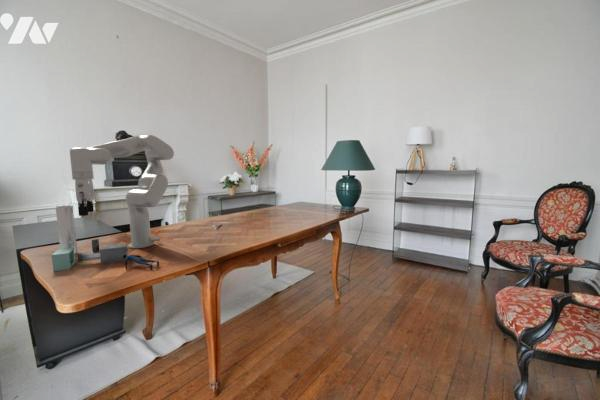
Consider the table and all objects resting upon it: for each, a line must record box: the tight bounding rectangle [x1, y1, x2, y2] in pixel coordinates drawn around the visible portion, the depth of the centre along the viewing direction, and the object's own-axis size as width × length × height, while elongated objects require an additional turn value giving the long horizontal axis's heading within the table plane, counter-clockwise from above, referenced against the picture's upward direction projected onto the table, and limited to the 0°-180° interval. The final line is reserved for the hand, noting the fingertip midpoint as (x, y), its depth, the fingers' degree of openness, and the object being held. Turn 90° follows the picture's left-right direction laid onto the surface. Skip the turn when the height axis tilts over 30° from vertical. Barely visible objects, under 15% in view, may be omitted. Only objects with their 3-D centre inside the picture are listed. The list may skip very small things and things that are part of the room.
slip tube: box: [77, 238, 101, 263], centre depth 128 cm, size 17×4×10 cm, turn 117°
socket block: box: [51, 248, 76, 272], centre depth 123 cm, size 6×9×7 cm, turn 27°
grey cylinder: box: [55, 204, 78, 255], centre depth 139 cm, size 6×6×25 cm
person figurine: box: [123, 254, 160, 271], centre depth 124 cm, size 11×4×18 cm
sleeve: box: [99, 242, 129, 265], centre depth 131 cm, size 10×7×7 cm
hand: (86, 213), depth 126 cm, fingers open, 9 cm apart
